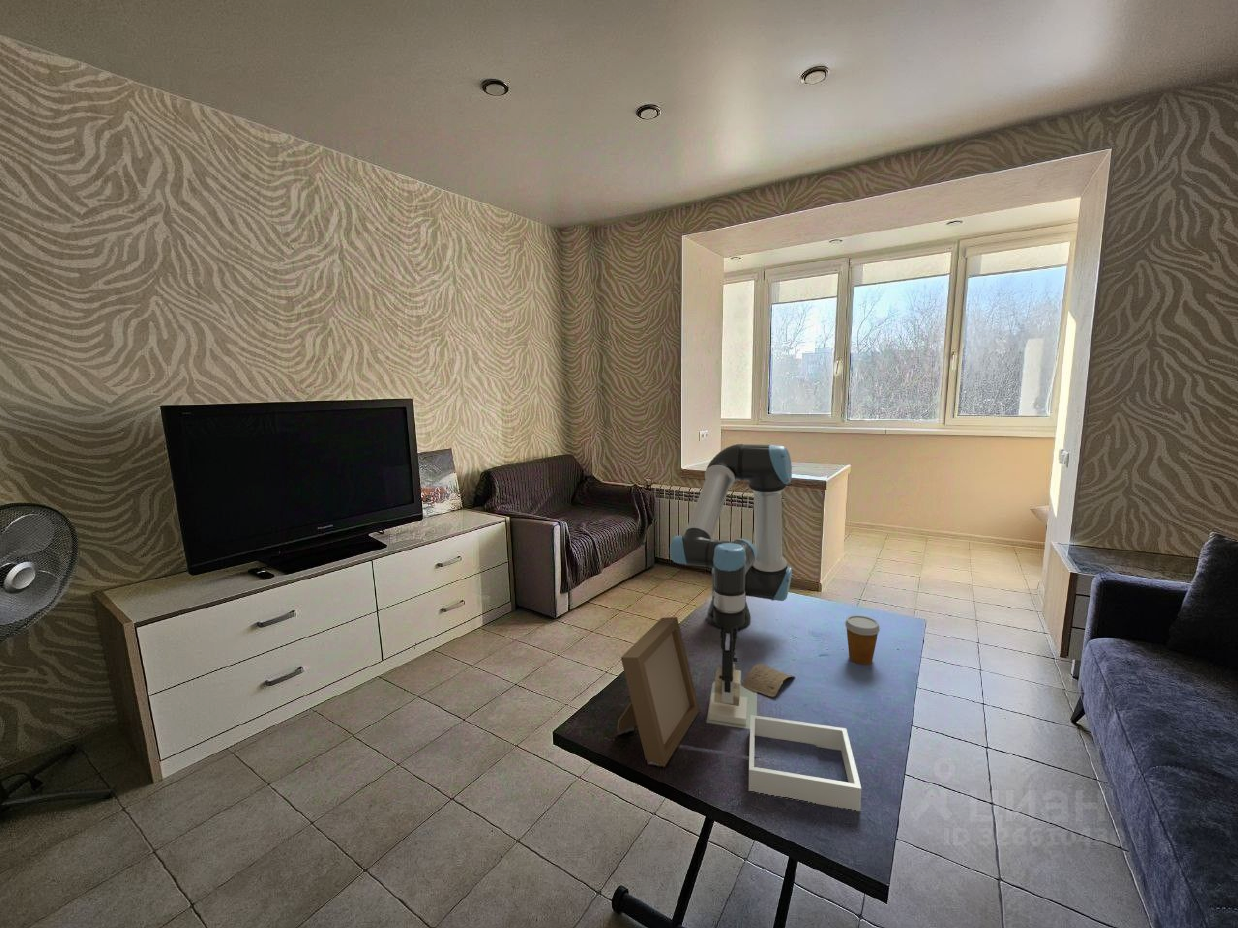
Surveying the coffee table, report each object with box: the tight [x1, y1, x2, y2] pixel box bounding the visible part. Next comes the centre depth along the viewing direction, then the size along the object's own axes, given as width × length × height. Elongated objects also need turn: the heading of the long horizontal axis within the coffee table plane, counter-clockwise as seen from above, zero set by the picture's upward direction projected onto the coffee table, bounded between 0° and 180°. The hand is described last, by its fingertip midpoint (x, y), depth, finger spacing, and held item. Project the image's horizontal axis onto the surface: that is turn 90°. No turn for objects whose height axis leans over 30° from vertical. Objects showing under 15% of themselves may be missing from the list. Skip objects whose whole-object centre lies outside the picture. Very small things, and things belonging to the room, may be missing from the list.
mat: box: [705, 681, 758, 730], centre depth 132 cm, size 18×12×1 cm, turn 165°
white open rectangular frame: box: [748, 715, 862, 812], centre depth 109 cm, size 18×21×5 cm
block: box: [714, 666, 742, 706], centre depth 128 cm, size 6×6×6 cm
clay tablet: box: [742, 663, 794, 697], centre depth 142 cm, size 14×10×3 cm
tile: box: [708, 693, 747, 725], centre depth 129 cm, size 2×9×9 cm
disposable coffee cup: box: [844, 614, 881, 666], centre depth 152 cm, size 10×10×12 cm
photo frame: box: [617, 616, 700, 768], centre depth 121 cm, size 15×22×25 cm
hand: (728, 693), depth 128 cm, fingers closed on block, 6 cm apart
